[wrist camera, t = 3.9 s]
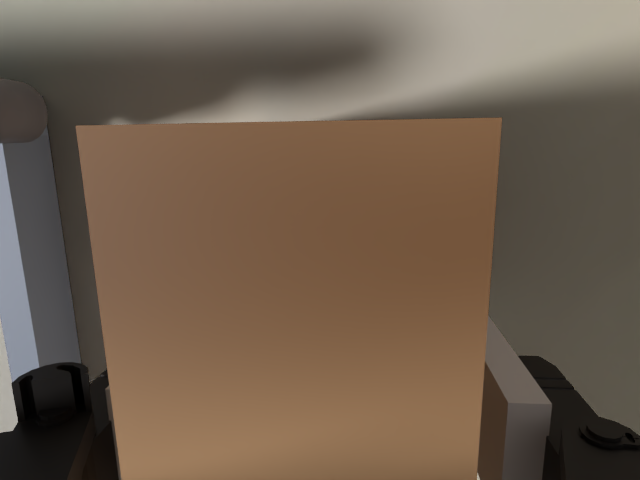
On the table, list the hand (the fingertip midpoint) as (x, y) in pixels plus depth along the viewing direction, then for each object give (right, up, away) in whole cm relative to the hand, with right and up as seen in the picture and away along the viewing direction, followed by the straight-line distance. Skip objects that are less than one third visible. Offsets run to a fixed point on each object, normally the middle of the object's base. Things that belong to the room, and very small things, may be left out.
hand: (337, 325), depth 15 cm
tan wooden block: (0, 0, 0) cm, 0 cm away
